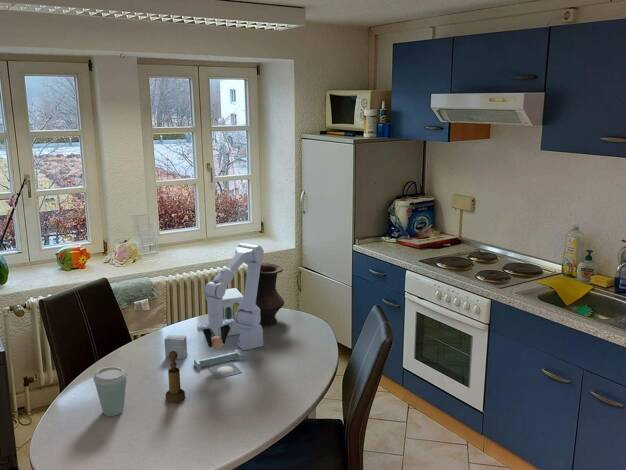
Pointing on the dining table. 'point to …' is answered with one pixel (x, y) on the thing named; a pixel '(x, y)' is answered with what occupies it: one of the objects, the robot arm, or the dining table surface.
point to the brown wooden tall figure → (174, 382)
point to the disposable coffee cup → (111, 389)
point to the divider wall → (217, 359)
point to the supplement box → (230, 310)
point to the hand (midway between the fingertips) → (216, 344)
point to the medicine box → (176, 345)
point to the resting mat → (225, 370)
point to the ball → (216, 342)
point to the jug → (268, 294)
